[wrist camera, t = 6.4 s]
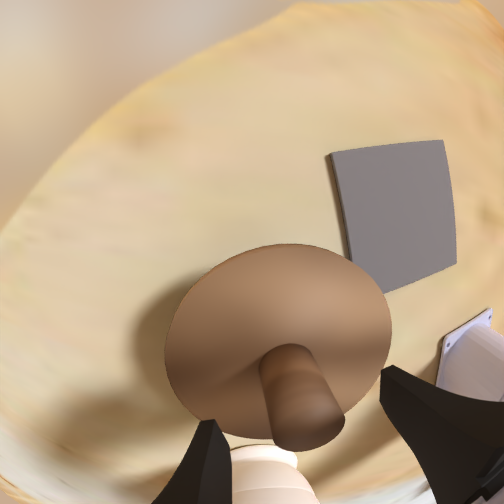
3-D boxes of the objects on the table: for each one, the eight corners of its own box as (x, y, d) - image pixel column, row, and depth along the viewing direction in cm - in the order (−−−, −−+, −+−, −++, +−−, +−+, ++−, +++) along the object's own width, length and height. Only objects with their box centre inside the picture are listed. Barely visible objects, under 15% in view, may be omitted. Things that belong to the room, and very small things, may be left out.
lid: (378, 397, 15) (415, 450, 10) (205, 440, 15) (203, 506, 10) (379, 222, 13) (455, 242, 7) (137, 273, 12) (86, 325, 7)
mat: (453, 262, 18) (456, 263, 18) (355, 301, 18) (357, 303, 18) (439, 140, 16) (442, 139, 16) (329, 153, 16) (331, 152, 15)
